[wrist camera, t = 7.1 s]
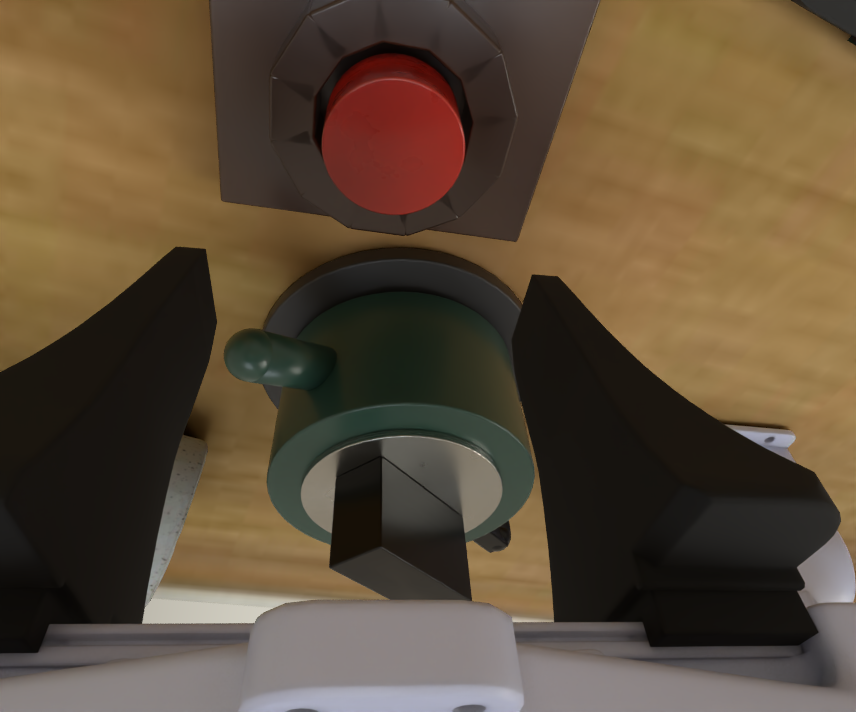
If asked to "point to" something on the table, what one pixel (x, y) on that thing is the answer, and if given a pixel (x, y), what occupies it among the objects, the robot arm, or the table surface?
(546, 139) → the switch block
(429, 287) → the kettle base
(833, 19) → the smart home device
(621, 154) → the table surface
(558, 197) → the table surface
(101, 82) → the table surface
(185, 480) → the ceramic mug
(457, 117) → the switch button
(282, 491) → the kettle
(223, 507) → the table surface
